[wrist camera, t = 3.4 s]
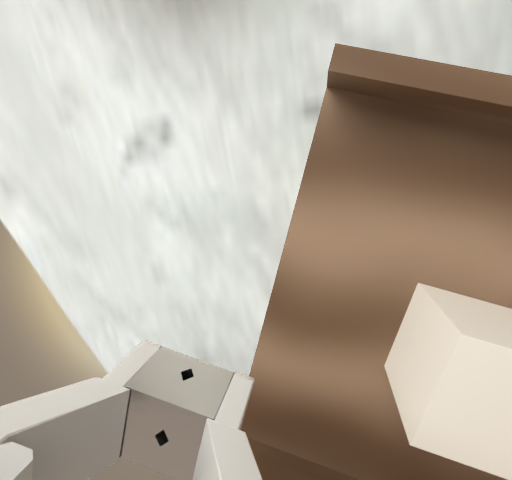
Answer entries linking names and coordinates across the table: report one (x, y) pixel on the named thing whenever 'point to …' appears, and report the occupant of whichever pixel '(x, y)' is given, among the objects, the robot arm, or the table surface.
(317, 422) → the box
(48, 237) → the table surface
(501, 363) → the block
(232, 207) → the table surface
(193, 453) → the robot arm
